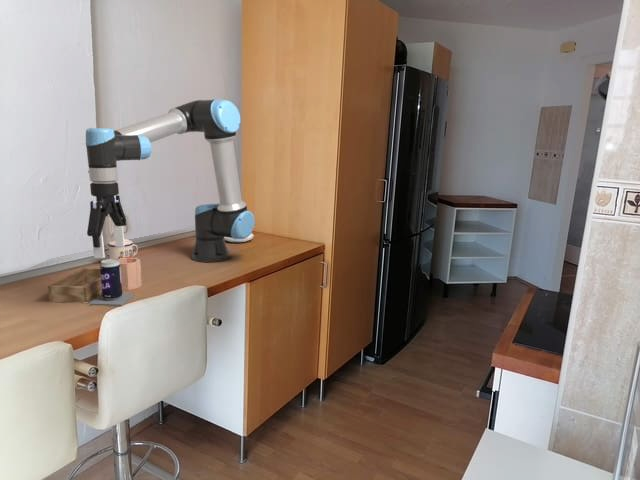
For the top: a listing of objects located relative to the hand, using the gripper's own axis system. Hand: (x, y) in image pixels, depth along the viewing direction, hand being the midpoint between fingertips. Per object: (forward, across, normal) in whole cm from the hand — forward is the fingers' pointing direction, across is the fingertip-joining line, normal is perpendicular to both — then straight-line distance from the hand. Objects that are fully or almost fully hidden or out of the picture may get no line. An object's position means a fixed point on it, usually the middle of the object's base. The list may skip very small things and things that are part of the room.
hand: (110, 251), depth 142 cm
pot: (+16, -13, -1) cm, 21 cm away
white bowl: (+18, -89, +22) cm, 94 cm away
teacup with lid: (+16, -41, -14) cm, 47 cm away
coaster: (+15, +1, 0) cm, 15 cm away
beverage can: (+15, 0, 0) cm, 15 cm away
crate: (+15, -6, -12) cm, 21 cm away
